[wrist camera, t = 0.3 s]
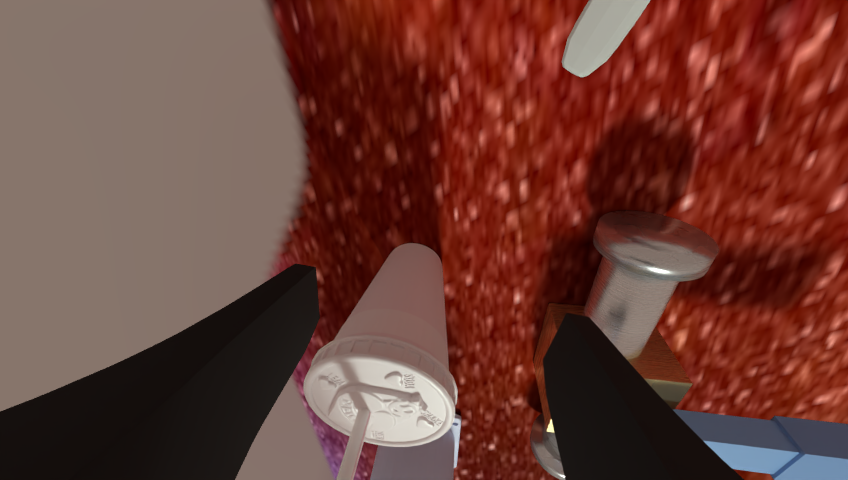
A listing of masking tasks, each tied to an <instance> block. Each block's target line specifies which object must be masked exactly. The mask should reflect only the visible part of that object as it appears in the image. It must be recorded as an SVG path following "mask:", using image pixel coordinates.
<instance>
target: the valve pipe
mask: <svg viewBox="0 0 848 480" xmlns="http://www.w3.org/2000/svg"><path fill="white" fill-rule="evenodd" d="M593 244H594V246H595V248H596V249H597V250H598V251H599V252H600V254H602V255H603V257H602V260H601V262H600V265H599V268H598V271H597V274H596V277H595V280H594V282H593V285H592V288H591V291H590V294H589V297H588V299H587V302H586V305H585V306H581V305H569V304H557V303H549V304H548V308H547V312H546V315H545V319H544V323H543V327H542V330H541V334H540V338H539V341H538V345H537V349H536V353H535V356H534V360H533V363H534V369H535V374H536V379H537V384H538V390H539V395H540V400H541V405H542V411H543V413H542V414H540V415H539V416H538V417H537V418H536V420H535V421H534V424H533V427H532V430H531V434H530V443H531V448H532V451H533V453H534V455H535V457H536V459H537V460H538V462H539V463H540V465H541V466H542V467H543V468H544V469H545V470H546V471H547V472H549V473H550V474H551V475H553V476H554V477H556V478H558V479H561V480H565V476H564V471H563V467H562V463H561V458H560V454H559V450H558V446H557V441H556V437H555V433H554V428H553V424H552V419H551V415H550V410H549V406H548V401H547V397H546V388H545V380H544V368H543V358H544V356H545V354H546V352H547V350H548V348H549V346H550V344H551V343H552V341H553V339H554V337H555V335H556V333H557V331H558V329H559V327H560V325H561V323H562V321H563V319H564V317H565V315H566V313H571V314H576V315H582V316H587V317H589V318H590V319H591V320H592V321H593V322H594V323H595V324H596V325H597V326H598V327H599V328H600V330H601V331H602V332H603V333H604V334H605V335H606V336H607V337H608V339H609V340H610V341H611V342H612V343H613V344H614V345H615V347H616V348H617V349H618V350H619V351H620V352H621V353H622V355H623V356H624V357H625V358H626V359H627V360H628V361H629V363H630V364H631V365H632V366H633V367H634V368H635V369H636V370H637V372H638V373H639V374H640V375H641V376H642V377H643V378H644V379H645V380H646V382H647V383H648V384H649V385H650V386H651V387H652V388H653V389H654V390H655V391H656V392H657V394H658V395H659V396H660V397H661V398H662V399H663V400H664V401H665V402H666V403H667V404H668V405H669V406H670V407H671V409H675V408H676V406H677V405H678V404H679V402H680V401H681V400H682V398H683V397H684V395H685V394H686V393H687V391H688V390H689V388H690V387H691V386H692V384H693V383H692V382H691V380H690V379H689V377H688V376H687V374H686V373H685V371H684V369H683V368H682V366H681V365H680V363H679V362H678V360H677V359H676V357H675V356H674V354H673V353H672V351H671V349H670V348H669V346H668V345H667V343H666V342H665V340H664V339H663V337H662V336H661V334H660V333H659V331H658V330H657V328H656V325H657V323H658V321H659V319H660V317H661V315H662V313H663V311H664V310H665V308H666V306H667V304H668V302H669V300H670V298H671V296H672V295H673V293H674V291H675V289H676V287H677V285H678V283H679V281H690V280H695V279H699V278H701V277H703V276H704V275H705V274H706V273H707V271H708V269H709V268H710V266H711V264H712V263H713V261H714V259H715V257H716V256H717V254H718V251H719V248H718V245H717V243H716V242H715V241H714V240H713V239H712V238H711V237H710V236H709V235H707V234H706V233H705V232H703V231H701V230H700V229H698V228H696V227H694V226H692V225H690V224H688V223H685V222H683V221H680V220H677V219H674V218H671V217H667V216H664V215H660V214H655V213H650V212H643V211H630V210H624V211H614V212H610V213H607V214H604V215H603V216H601V218H600V219H599V221H598V224H597V227H596V230H595V233H594V237H593Z"/></svg>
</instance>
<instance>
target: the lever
mask: <svg viewBox="0 0 848 480" xmlns="http://www.w3.org/2000/svg"><path fill="white" fill-rule="evenodd" d="M672 410H673V411H674V412H675V413H676V414H677V415H678V416H679V417H680V418H681V419H682V420H683V421H684V422H685V423H686V424H687V425H688V426H689V427H690V428H691V429H692V430H693V431H694V432H695V433H696V434H697V435H698V436H699V437H700V438H701V439H702V440H703V441H704V442H705V443H706V444H707V445H708V446H709V447H710V448H711V449H712V450H713V451H714V452H715V453H716V454H717V455H718V456H719V457H720V458H721V459H722V460H723V461H724V462H726V463H727V464H728V465H729V466H730V467H731V468H732V469H738V470H745V471H753V472H760V473H768V474H770V475H771V476H772V478H773V479H774V480H848V424H842V423H833V422H824V421H815V420H806V419H798V418H789V417H780V416H774V417H773V418H772V419H771V420H762V419H754V418H745V417H736V416H728V415H719V414H710V413H702V412H693V411H684V410H676V409H672Z"/></svg>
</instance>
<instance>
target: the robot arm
mask: <svg viewBox="0 0 848 480" xmlns="http://www.w3.org/2000/svg"><path fill="white" fill-rule="evenodd" d="M319 318H320V315H319V303H318V290H317V277H316V267H311V266H306V265H300V264H294V265H292V266H291V267H289V268H287V269H286V270H284V271H282V272H281V273H279V274H278V275H276V276H274V277H273V278H271V279H270V280H268V281H266V282H265V283H263V284H262V285H260V286H259V287H257V288H255V289H254V290H252V291H251V292H249V293H247V294H246V295H244V296H242V297H241V298H239V299H237V300H236V301H234V302H232V303H231V304H229V305H228V306H226V307H224V308H222V309H221V310H219V311H217V312H215V313H213V314H212V315H210V316H208V317H207V318H205V319H203V320H201V321H199V322H197V323H196V324H194V325H192V326H191V327H189V328H187V329H185V330H183V331H182V332H180V333H178V334H176V335H174V336H172V337H170V338H168V339H166V340H164V341H162V342H160V343H158V344H156V345H154V346H152V347H150V348H148V349H146V350H144V351H142V352H140V353H138V354H136V355H133V356H131V357H129V358H127V359H125V360H123V361H121V362H118V363H116V364H114V365H112V366H110V367H107V368H105V369H103V370H100V371H98V372H96V373H93V374H91V375H89V376H86V377H84V378H82V379H80V380H77V381H75V382H72V383H70V384H68V385H65V386H63V387H61V388H58V389H56V390H54V391H51V392H49V393H47V394H44V395H42V396H39V397H37V398H34V399H32V400H29V401H26V402H24V403H21V404H19V405H16V406H14V407H11V408H9V409H6V410H3V411H1V412H0V480H235V478H236V476H237V474H238V472H239V470H240V468H241V465H242V464H243V461H244V459H245V457H246V455H247V453H248V451H249V449H250V447H251V444H252V442H253V441H254V439H255V437H256V435H257V433H258V431H259V430H260V428H261V426H262V424H263V422H264V420H265V419H266V417H267V415H268V414H269V412H270V410H271V409H272V407H273V405H274V403H275V402H276V400H277V398H278V396H279V395H280V393H281V392H282V390H283V388H284V386H285V385H286V383H287V381H288V380H289V378H290V376H291V375H292V373H293V371H294V369H295V368H296V366H297V364H298V363H299V361H300V359H301V357H302V356H303V354H304V352H305V350H306V348H307V346H308V344H309V342H310V339H311V337H312V335H313V333H314V330H315V328H316V325H317V323H318V321H319ZM543 368H544V380H545V388H546V397H547V401H548V406H549V410H550V415H551V419H552V424H553V428H554V433H555V437H556V441H557V446H558V450H559V454H560V458H561V463H562V467H563V471H564V476H565V480H744V479H743V478H742V477H741V476H740V475H738V474H737V473H736V472H735V471H734V470H733V469H732V468H731V467H730V466H729V465H728V464H727V463H726V462H724V461H723V460H722V459H721V458H720V457H719V456H718V455H717V454H716V453H715V452H714V451H713V450H712V449H711V448H710V447H709V446H708V445H707V444H706V443H705V442H704V441H703V440H702V439H701V438H700V437H699V436H698V435H697V434H696V433H695V432H694V431H693V430H692V429H691V428H690V427H689V426H688V425H687V424H686V423H685V422H684V421H683V420H682V419H681V418H680V417H679V416H678V415H677V414H676V413H675V412H674V411H673V410H672V409H671V407H670V406H669V405H668V404H667V403H666V402H665V401H664V400H663V399H662V398H661V397H660V396H659V395H658V394H657V392H656V391H655V390H654V389H653V388H652V387H651V386H650V385H649V384H648V383H647V382H646V380H645V379H644V378H643V377H642V376H641V375H640V374H639V373H638V372H637V370H636V369H635V368H634V367H633V366H632V365H631V364H630V363H629V361H628V360H627V359H626V358H625V357H624V356H623V355H622V353H621V352H620V351H619V350H618V349H617V348H616V347H615V345H614V344H613V343H612V342H611V341H610V340H609V339H608V337H607V336H606V335H605V334H604V333H603V332H602V331H601V330H600V328H599V327H598V326H597V325H596V324H595V323H594V322H593V321H592V320H591V319H590V318H589V317H587V316H582V315H576V314H571V313H566V315H565V317H564V319H563V321H562V323H561V325H560V327H559V329H558V331H557V333H556V335H555V337H554V339H553V341H552V343H551V344H550V346H549V348H548V350H547V352H546V354H545V356H544V358H543ZM460 428H461V416H460V415H457V414H455V418H454V422H453V424H452V426H451V428H450V429H449V430H448V431H447V432H446V433H445V434H444V435H442V436H441V437H440V438H438V439H436V440H434V441H431V442H429V443H425V444H422V445H417V446H409V447H391V446H382V445H378V449H377V453H376V457H375V462H374V466H373V470H372V474H371V478H370V480H453V473H454V468H455V467H456V466H457V457H458V447H459V437H460Z"/></svg>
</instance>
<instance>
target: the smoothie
mask: <svg viewBox="0 0 848 480" xmlns="http://www.w3.org/2000/svg"><path fill="white" fill-rule="evenodd" d="M304 394H305V397H306V400H307V401H308V403H309V406H310V407H311V408H312V409H313V411H314V412H315V413H316V414H317V415H318V416H319V417H320V418H321V419H322V420H323V421H324V422H325V423H327V424H328V425H330V426H331V427H333V428H334V429H336V430H338V431H340V432H341V433H343V434H345V435H348V436H350V438H349V441H348V444H347V447H346V451H345V454H344V457H343V460H342V463H341V466H340V470H339V473H338V476H337V479H336V480H353V478H354V474H355V471H356V467H357V464H358V460H359V456H360V453H361V449H362V446H363V442H367V443H371V444H376V445H382V446H391V447H409V446H417V445H422V444H425V443H429V442H431V441H434V440H436V439H438V438H440V437H441V436H442V435H444V434H445V433H446V432H447V431H448V430H449V429H450V428H451V426H452V424H453V422H454V418H455V405H456V403H457V394H458V389H457V386H456V383H455V380H454V377H453V376H452V374H451V373H450V372H449V363H448V349H447V333H446V317H445V301H444V285H443V270H442V263H441V260H440V258H439V256H438V255H437V254H436V253H435V252H434V251H433V250H432V249H430V248H429V247H427V246H424V245H421V244H417V243H407V244H403V245H400V246H398V247H396V248H395V249H394V250H393V251H392V252H391V253H390V255H389V256H388V258H387V259H386V261H385V262H384V264H383V265H382V267H381V268H380V270H379V272H378V273H377V275H376V276H375V278H374V279H373V281H372V282H371V284H370V285H369V287H368V288H367V290H366V291H365V293H364V294H363V296H362V297H361V299H360V301H359V302H358V304H357V305H356V307H355V308H354V310H353V311H352V313H351V314H350V316H349V317H348V319H347V320H346V322H345V323H344V325H343V326H342V328H341V329H340V331H339V332H338V334H337V335H336V337H335V339H334V340H333V341H331V342H329V343H328V344H327V345H325V346H324V347H322V348H321V349H320V350H319V351H318V352H317V354H316V355H315V357H314V359H313V360H312V365H311V367H310V369H309V371H308V373H307V375H306V377H305V380H304Z"/></svg>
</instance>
